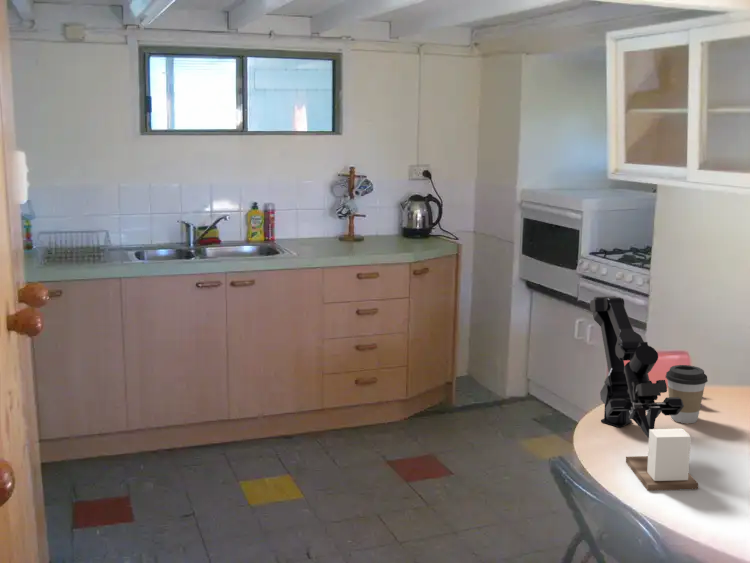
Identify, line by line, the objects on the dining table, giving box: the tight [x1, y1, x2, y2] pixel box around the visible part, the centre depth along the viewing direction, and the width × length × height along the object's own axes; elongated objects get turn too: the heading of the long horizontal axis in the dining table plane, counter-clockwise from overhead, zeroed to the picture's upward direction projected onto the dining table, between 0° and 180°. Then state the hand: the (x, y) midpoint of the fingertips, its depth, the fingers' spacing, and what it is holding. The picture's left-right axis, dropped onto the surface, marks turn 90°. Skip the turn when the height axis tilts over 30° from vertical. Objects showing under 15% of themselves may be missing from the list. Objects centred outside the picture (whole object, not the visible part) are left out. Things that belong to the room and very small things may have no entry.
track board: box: [625, 455, 699, 492], centre depth 199 cm, size 16×12×2 cm
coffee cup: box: [665, 364, 708, 424], centre depth 233 cm, size 11×11×15 cm
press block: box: [647, 428, 692, 481], centre depth 194 cm, size 6×8×11 cm
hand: (650, 438), depth 205 cm, fingers closed
